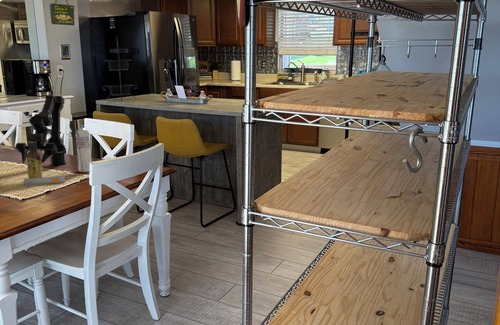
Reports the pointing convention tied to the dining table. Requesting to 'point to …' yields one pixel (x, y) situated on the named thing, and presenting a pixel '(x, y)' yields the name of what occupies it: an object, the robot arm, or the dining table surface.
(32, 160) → the sauce bottle
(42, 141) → the robot arm
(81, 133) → the water bottle
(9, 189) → the dining table surface
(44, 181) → the rail
